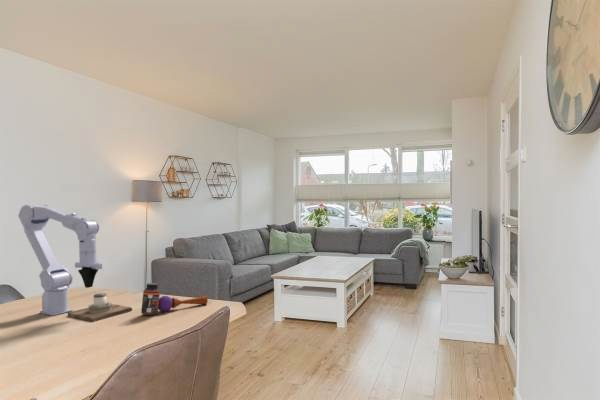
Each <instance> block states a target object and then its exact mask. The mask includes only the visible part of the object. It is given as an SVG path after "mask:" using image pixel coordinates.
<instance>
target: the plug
mask: <svg viewBox="0 0 600 400" xmlns="http://www.w3.org/2000/svg"><path fill="white" fill-rule="evenodd" d="M107 299H108V298H107V293H105V292H102V293H95V294H94V295H93V304H94V307H102V306H107Z"/></svg>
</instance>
